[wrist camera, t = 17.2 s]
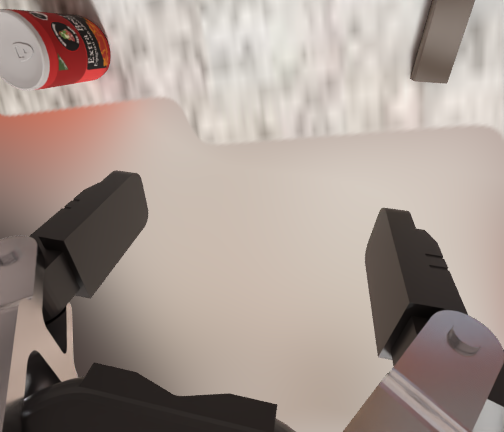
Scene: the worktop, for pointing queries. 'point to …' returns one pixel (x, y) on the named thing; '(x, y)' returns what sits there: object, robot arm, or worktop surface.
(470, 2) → the wooden board
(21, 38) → the canned food
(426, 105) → the worktop surface
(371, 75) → the worktop surface
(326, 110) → the worktop surface
